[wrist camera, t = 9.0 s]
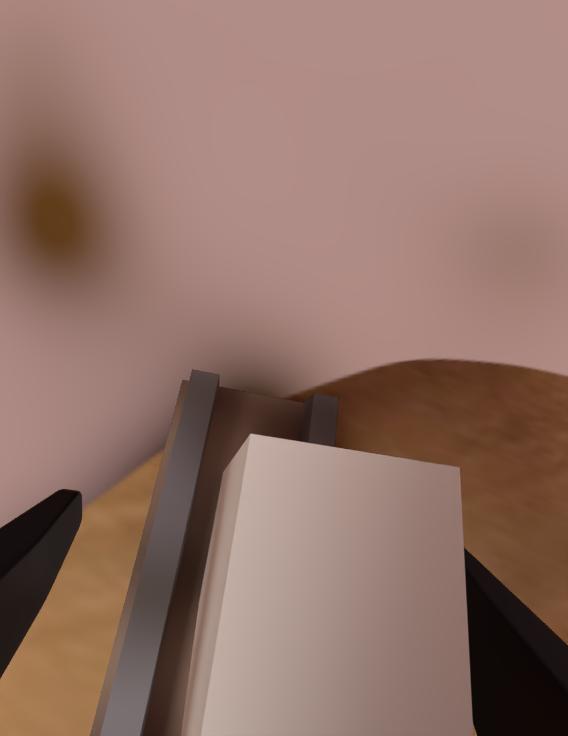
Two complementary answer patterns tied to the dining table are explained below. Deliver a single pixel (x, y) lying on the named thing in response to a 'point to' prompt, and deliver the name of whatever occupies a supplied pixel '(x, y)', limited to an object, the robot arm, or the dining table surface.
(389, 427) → the dining table surface
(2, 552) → the robot arm
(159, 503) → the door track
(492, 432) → the dining table surface
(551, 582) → the dining table surface
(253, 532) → the door panel
